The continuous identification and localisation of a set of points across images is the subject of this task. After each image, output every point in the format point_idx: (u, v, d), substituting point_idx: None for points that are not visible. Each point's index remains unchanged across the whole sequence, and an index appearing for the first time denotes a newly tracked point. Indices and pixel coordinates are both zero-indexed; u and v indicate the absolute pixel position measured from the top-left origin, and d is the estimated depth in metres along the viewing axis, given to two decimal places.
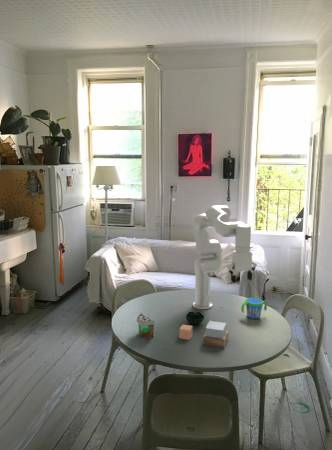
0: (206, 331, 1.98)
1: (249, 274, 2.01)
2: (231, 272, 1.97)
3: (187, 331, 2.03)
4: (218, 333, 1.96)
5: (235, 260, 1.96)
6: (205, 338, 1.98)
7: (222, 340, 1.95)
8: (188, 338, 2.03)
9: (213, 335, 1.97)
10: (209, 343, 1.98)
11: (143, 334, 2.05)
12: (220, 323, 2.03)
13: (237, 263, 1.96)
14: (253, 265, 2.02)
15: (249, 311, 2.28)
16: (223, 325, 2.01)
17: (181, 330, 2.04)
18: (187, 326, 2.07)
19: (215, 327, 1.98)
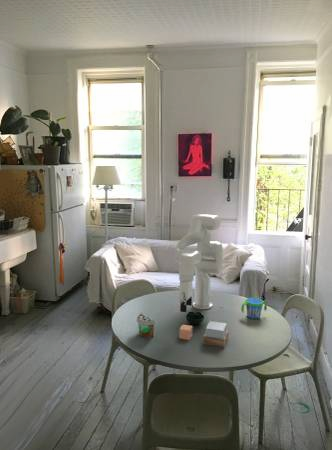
0: (206, 331, 1.98)
1: (189, 300, 2.07)
2: (184, 302, 1.96)
3: (187, 331, 2.03)
4: (219, 334, 1.96)
5: (186, 290, 1.96)
6: (205, 338, 1.98)
7: (222, 340, 1.95)
8: (188, 338, 2.03)
9: (213, 335, 1.97)
10: (209, 343, 1.98)
11: (143, 334, 2.05)
12: (220, 323, 2.03)
13: (188, 292, 1.97)
14: None
15: (249, 311, 2.28)
16: (223, 325, 2.00)
17: (181, 330, 2.04)
18: (187, 326, 2.07)
19: (215, 327, 1.98)
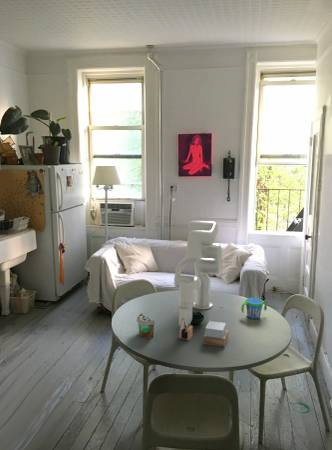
0: (206, 331, 1.98)
1: None
2: (185, 330, 2.01)
3: (187, 331, 2.03)
4: (218, 333, 1.96)
5: (185, 317, 1.99)
6: (205, 338, 1.98)
7: (222, 340, 1.95)
8: (188, 338, 2.03)
9: (213, 335, 1.97)
10: (209, 343, 1.98)
11: (143, 334, 2.05)
12: (220, 323, 2.03)
13: (187, 319, 2.00)
14: None
15: (249, 311, 2.28)
16: (223, 325, 2.00)
17: None
18: (188, 326, 2.07)
19: (215, 327, 1.98)
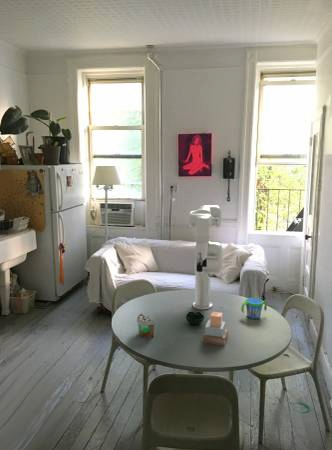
0: (206, 330, 2.00)
1: (204, 261, 2.17)
2: (200, 262, 2.06)
3: (219, 318, 1.98)
4: (218, 332, 1.98)
5: (202, 250, 2.07)
6: (205, 337, 2.00)
7: (222, 338, 1.97)
8: (219, 325, 1.99)
9: (213, 334, 1.99)
10: (209, 342, 1.99)
11: (143, 334, 2.05)
12: None
13: (203, 253, 2.08)
14: None
15: (249, 311, 2.28)
16: (222, 324, 2.02)
17: (212, 317, 1.99)
18: (218, 313, 2.03)
19: (215, 326, 2.00)
